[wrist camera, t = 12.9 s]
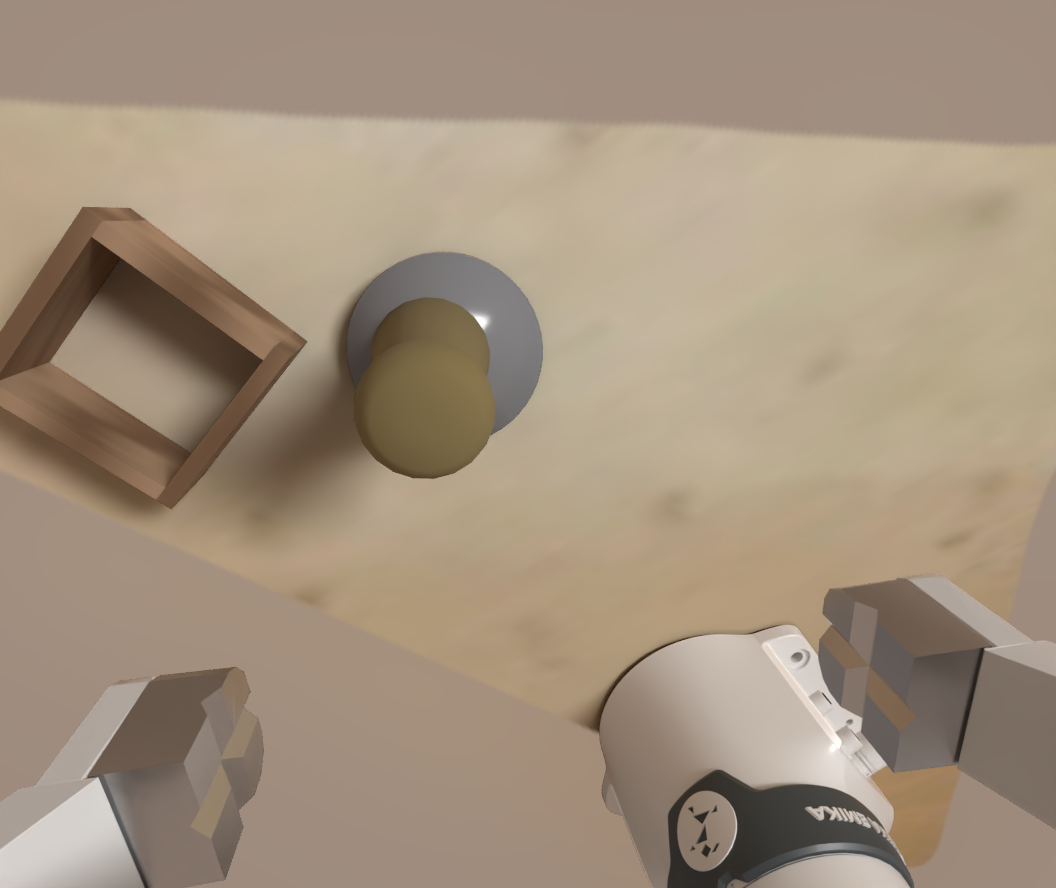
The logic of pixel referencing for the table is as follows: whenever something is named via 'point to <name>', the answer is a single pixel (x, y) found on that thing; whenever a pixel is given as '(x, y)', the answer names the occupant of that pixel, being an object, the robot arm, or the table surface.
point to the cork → (426, 390)
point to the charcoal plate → (477, 293)
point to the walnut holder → (85, 416)
